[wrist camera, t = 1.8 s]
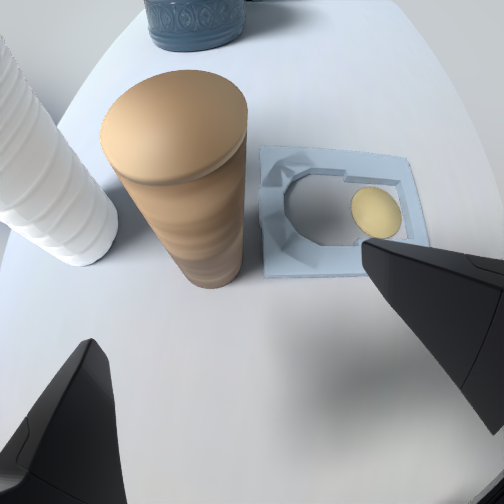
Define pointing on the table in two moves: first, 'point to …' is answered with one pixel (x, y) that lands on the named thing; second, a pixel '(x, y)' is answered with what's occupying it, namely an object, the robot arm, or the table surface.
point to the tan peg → (185, 167)
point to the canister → (194, 23)
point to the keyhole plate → (363, 209)
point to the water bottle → (47, 178)
